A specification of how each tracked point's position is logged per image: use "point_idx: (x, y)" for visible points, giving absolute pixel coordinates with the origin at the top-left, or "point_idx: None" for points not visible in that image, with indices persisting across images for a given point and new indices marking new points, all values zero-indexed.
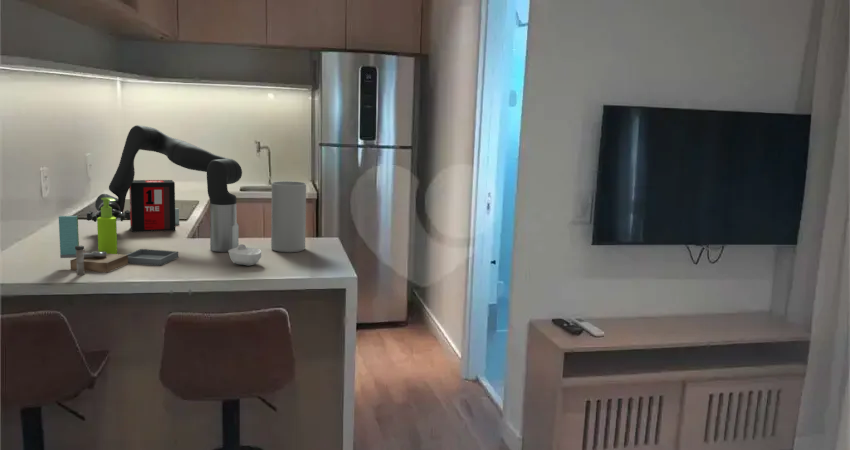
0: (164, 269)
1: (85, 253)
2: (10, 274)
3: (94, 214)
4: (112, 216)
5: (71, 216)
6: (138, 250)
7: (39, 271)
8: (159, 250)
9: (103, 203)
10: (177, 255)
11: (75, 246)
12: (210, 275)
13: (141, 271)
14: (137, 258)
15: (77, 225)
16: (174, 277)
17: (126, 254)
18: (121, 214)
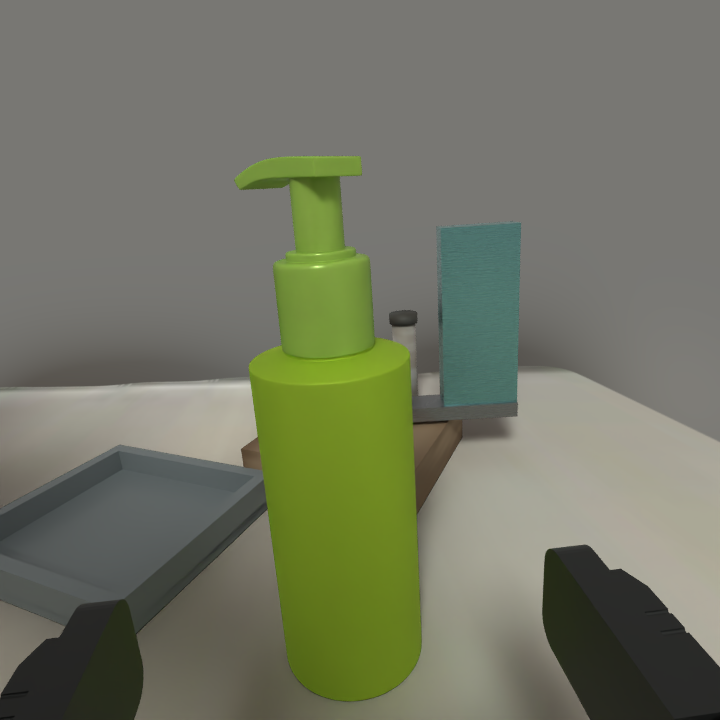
0: (133, 441)
1: (415, 402)
2: (637, 407)
3: (690, 677)
4: (278, 363)
5: (461, 225)
6: (146, 569)
7: (565, 426)
8: (17, 568)
9: (341, 214)
10: None
11: (415, 312)
12: (39, 408)
13: (217, 428)
14: (202, 462)
15: (439, 272)
16: (144, 398)
17: (239, 499)
18: (54, 690)
